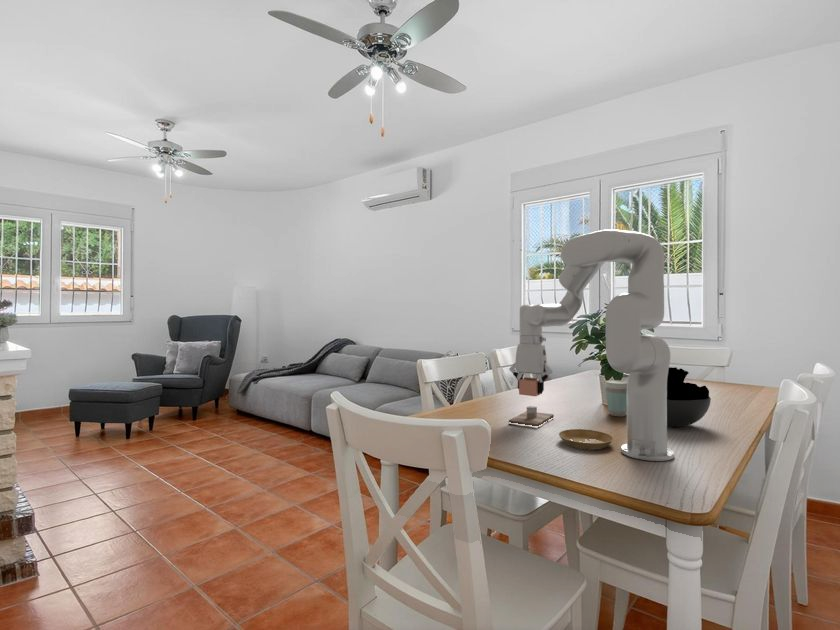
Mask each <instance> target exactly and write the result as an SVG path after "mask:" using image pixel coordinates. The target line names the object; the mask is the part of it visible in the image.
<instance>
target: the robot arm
mask: <svg viewBox="0 0 840 630" xmlns="http://www.w3.org/2000/svg"><path fill="white" fill-rule="evenodd" d="M560 257H561V261H562V262H563V263H564V264H565V267H564V269H563V270H562V271H561V273H560V274H559V276H558V281H559V284H560V285H561V286H562V287H563V288H564V289H565V290H566V293H565V294H564V296H563V297H562V299H561V301H560V302H559V303H538V304H523V305H521V306H520V307H519V343H518V344H517V347H516V353H515V361H514V363H513V364H512V365H511V366H510V367H509V368H508V369H509V371H510V373H511V374H512V375H513V376H514V377H515V379H516V380H517V389H518V390H519V380H521V379H524V376H525V374H529V375H530V374H531V375H532V374H533V375H536V376H537V377H536V378H537V379H538V380H539V382H538V394H540V395H542V394H543V392H544V391H545V387H544V386H545V385H544V384H545V383H544V382H545V381H546V380H547V379H548V378H549V377H551V376H552V375H553V374H554V371H553V369H552V368H551V367H550V366H549V365H548V362H547V351H546V346H545V344H543V343H544V342H546V341H547V338H546V337H543V328H547V327H563V326H566V325H568V323H570V322H572V319H573V318H575V316H576V315H577V314H578V312H579V311H580V309H581V307H582V304H583V300H584V290H585V289H586V287H587V286H588V284H589V283H590V282H591V280H592V279H593V278H594V277H595V275H596V274H597V273H598V271H599V270H600V269H601V268H602V266H603V265H604V264H605V263H607V262H613V263H627V264H628V263H629V264H632V266H631V268H630V271H629V273H628V276H627V292H623V293H621V294H618V295H615V296H614V297H613V298H612V299H611V300H610V301H609V303H608V304H607V308H606V311H605V355H606V359H607V362H608V364H609V366H610V367H611V368H612V369H613V370H614V371H616V372H618V373H621V374H628V377H627V381H626V382H627V412H626V440H627V441H626V443H624V444H622V445H621V446H620V452H621V453H622V454H624V455H625V456H627V457H630V458H633V459H636V460H644V461H652V462H665V461H669V460H673V459H674V457H675V452H674V451H673V450H672V449H671V448H669V447H668V425H667V376H668V369H669V367H670V363H671V350H670V349H671V348H670V347H669V344H668V343H667V342H666V341H665V340H664V339H663V338H662V337H660V336H657V335H656V334H655V335H654V334H649V333H648V334H642V333H641V332H642V330H650V329H656V328H657V327H659V326H660V325H661V324H662V323H663V321H664V318H665V282H664V281H665V279H664V278H665V277H664V275H665V250H664V247H663V246H662V243H660V241H659V240H657V238H655V237H654V236H652V235H649V234H646V233H642V232H638V231H632V230H621V229H611V228H610V229H603V230H597V231H593V232H589V233H585V234H581V235H578V236H574V237H572V238H570V239H568V240H567V241H566V242H565V244H564V245H563V246H562V248H561V252H560ZM544 373H545V374H544ZM541 393H542V394H541Z"/></svg>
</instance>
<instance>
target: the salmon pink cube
mask: <svg viewBox="0 0 840 630" xmlns="http://www.w3.org/2000/svg"><path fill="white" fill-rule="evenodd" d="M538 382H539V380H538V377H524V376H523V379H521V380H519V389H518V394H519V395H520V396H521V395H522V396H527V397H528V396H529V397H530V396H531V397H538V396H540V395H542V394H543V392H542V393H541V394H538Z"/></svg>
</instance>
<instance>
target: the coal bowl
mask: <svg viewBox="0 0 840 630" xmlns="http://www.w3.org/2000/svg"><path fill="white" fill-rule="evenodd" d="M689 374H690V373H689V371H687V370H684V369H683V368H678V367H670V366H669V369H668V376H667V426H671V427H686V426H691V425H693V424H695V423H697V422H698V421H700V420H702V419H703V417H704V416H705V415H706V414H707V412H708V410H709V408H710V405H711V400H712V399H711V397H710V389H708V387H707V386H706V385H702V386H700V385H697V383H692V382H685V379H686V377H687V376H688V375H689Z"/></svg>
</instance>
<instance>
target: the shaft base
mask: <svg viewBox="0 0 840 630" xmlns="http://www.w3.org/2000/svg"><path fill="white" fill-rule="evenodd" d="M537 408H538V407H537V406H533V405H529V406H527V407H526V411H525V412H522V413H520V414H518V415H517V416H513V417H512V418H510V419H509V420H508V423H509V422H511V423H518V424H525V425H532V426H539V425H541V424H543V423H544V422H546V421H548V420H549V419H551V418H553V417H554V418H555V415H554V414H552V413H544V412H538V409H537Z"/></svg>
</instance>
